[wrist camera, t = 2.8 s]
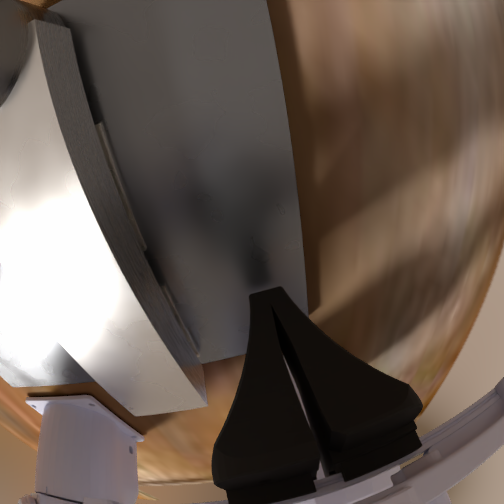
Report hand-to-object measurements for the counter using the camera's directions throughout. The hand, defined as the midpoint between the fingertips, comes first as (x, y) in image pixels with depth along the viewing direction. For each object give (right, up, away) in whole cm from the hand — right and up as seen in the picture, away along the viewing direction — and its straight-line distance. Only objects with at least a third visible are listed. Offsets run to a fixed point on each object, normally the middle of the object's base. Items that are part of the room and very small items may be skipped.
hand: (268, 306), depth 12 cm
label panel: (-10, +3, -1) cm, 10 cm away
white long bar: (-7, +3, -3) cm, 8 cm away
